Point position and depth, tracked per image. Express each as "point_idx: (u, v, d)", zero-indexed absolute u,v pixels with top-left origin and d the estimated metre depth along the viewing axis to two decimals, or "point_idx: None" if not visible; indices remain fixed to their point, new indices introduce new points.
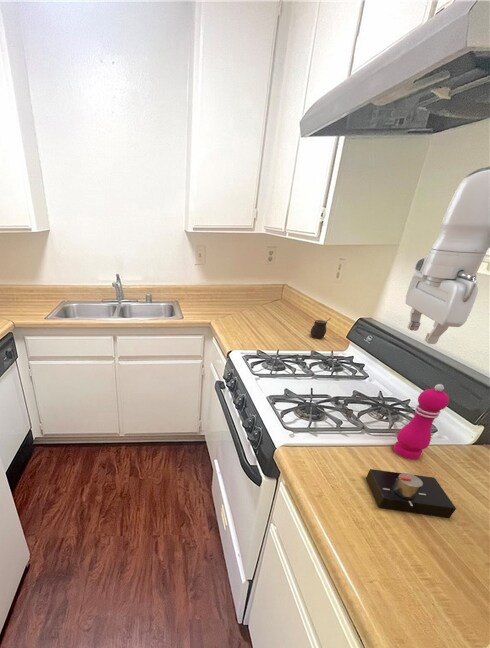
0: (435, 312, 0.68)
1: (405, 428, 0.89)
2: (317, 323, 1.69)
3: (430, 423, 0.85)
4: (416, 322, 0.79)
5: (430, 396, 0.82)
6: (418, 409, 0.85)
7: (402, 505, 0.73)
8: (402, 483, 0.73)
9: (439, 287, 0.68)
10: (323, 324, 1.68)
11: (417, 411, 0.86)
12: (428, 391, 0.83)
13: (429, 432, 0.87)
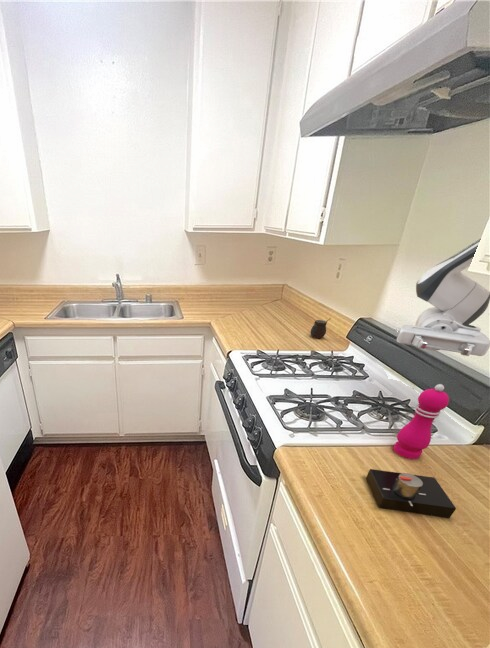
0: None
1: (405, 428, 0.89)
2: (317, 323, 1.69)
3: (430, 423, 0.85)
4: None
5: (430, 397, 0.82)
6: (418, 409, 0.85)
7: (402, 505, 0.73)
8: (402, 483, 0.73)
9: None
10: (323, 324, 1.68)
11: (417, 411, 0.86)
12: (428, 391, 0.83)
13: (429, 432, 0.87)
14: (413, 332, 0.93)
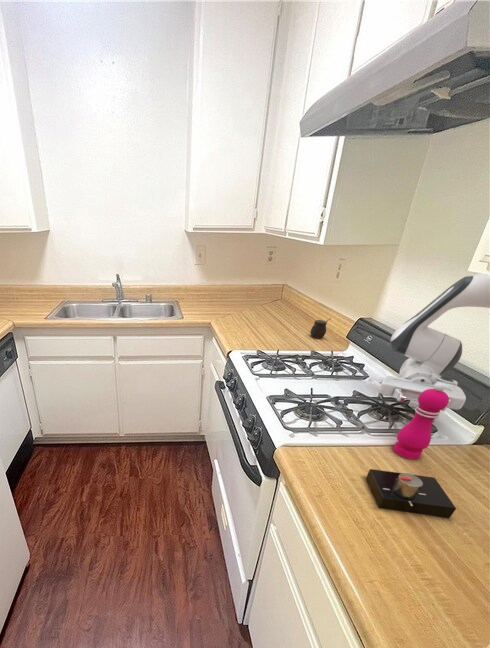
0: None
1: (405, 428, 0.89)
2: (317, 323, 1.69)
3: (430, 423, 0.85)
4: None
5: (430, 397, 0.82)
6: (418, 409, 0.85)
7: (402, 505, 0.73)
8: (402, 483, 0.73)
9: None
10: (323, 324, 1.68)
11: (417, 411, 0.86)
12: (428, 391, 0.83)
13: (429, 432, 0.87)
14: (393, 385, 0.98)
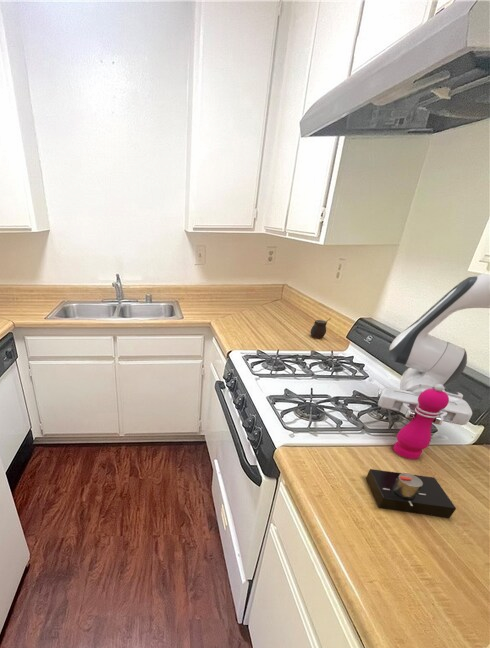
0: None
1: (405, 428, 0.89)
2: (317, 323, 1.69)
3: (430, 423, 0.85)
4: None
5: (430, 396, 0.82)
6: (418, 409, 0.85)
7: (402, 505, 0.73)
8: (402, 483, 0.73)
9: None
10: (323, 324, 1.68)
11: (417, 411, 0.86)
12: (428, 391, 0.83)
13: (429, 432, 0.87)
14: (394, 398, 0.91)
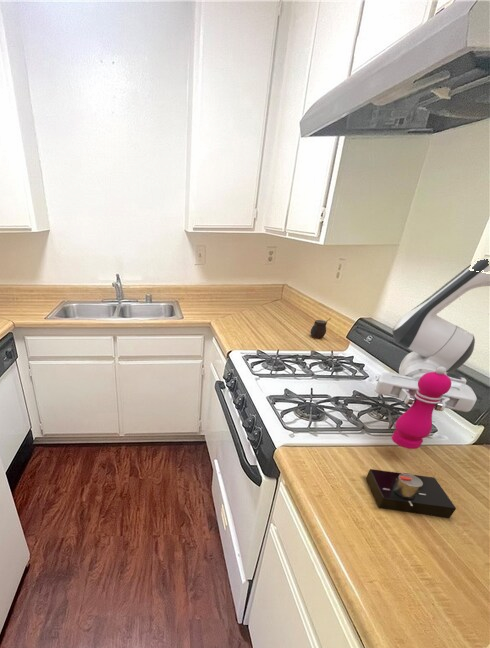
0: None
1: (404, 415, 0.83)
2: (317, 323, 1.69)
3: (431, 409, 0.79)
4: None
5: (431, 380, 0.76)
6: (418, 394, 0.79)
7: (402, 505, 0.73)
8: (402, 483, 0.73)
9: None
10: (323, 324, 1.68)
11: (417, 396, 0.79)
12: (429, 374, 0.77)
13: (430, 419, 0.80)
14: (392, 383, 0.85)
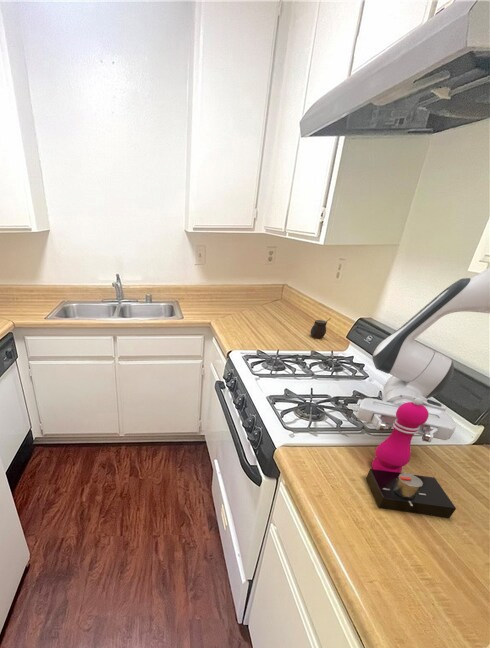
0: None
1: (383, 444, 0.83)
2: (317, 323, 1.69)
3: (409, 439, 0.79)
4: None
5: (408, 411, 0.76)
6: (396, 424, 0.79)
7: (402, 505, 0.73)
8: (402, 483, 0.73)
9: None
10: (323, 324, 1.68)
11: (395, 426, 0.79)
12: (406, 405, 0.77)
13: (408, 448, 0.80)
14: (372, 410, 0.85)
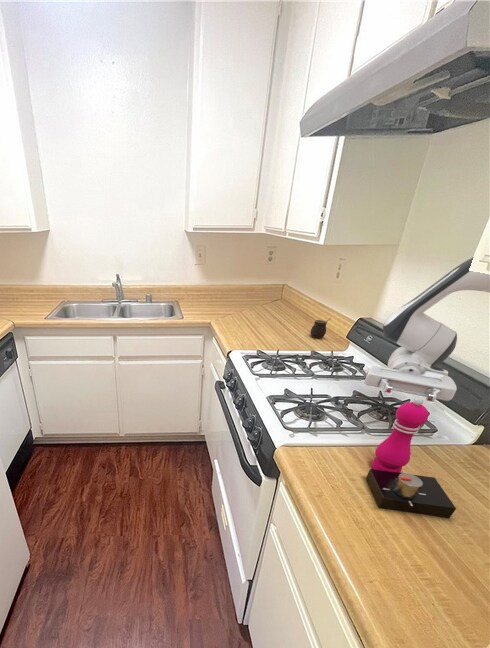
0: None
1: (383, 444, 0.83)
2: (317, 323, 1.69)
3: (409, 439, 0.79)
4: None
5: (408, 411, 0.76)
6: (396, 424, 0.79)
7: (402, 505, 0.73)
8: (402, 483, 0.73)
9: None
10: (323, 324, 1.68)
11: (395, 426, 0.79)
12: (406, 405, 0.77)
13: (408, 448, 0.80)
14: (380, 375, 0.92)
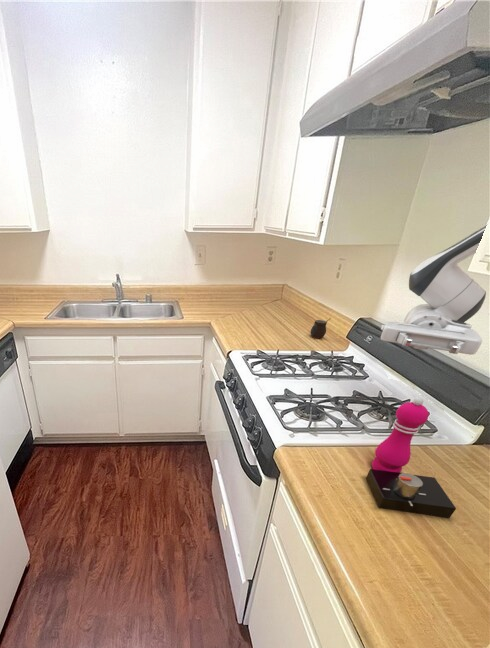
0: None
1: (383, 444, 0.83)
2: (317, 323, 1.69)
3: (409, 439, 0.79)
4: None
5: (408, 411, 0.76)
6: (396, 424, 0.79)
7: (402, 505, 0.73)
8: (402, 483, 0.73)
9: None
10: (323, 324, 1.68)
11: (395, 426, 0.79)
12: (406, 405, 0.77)
13: (408, 448, 0.80)
14: (398, 329, 0.85)
